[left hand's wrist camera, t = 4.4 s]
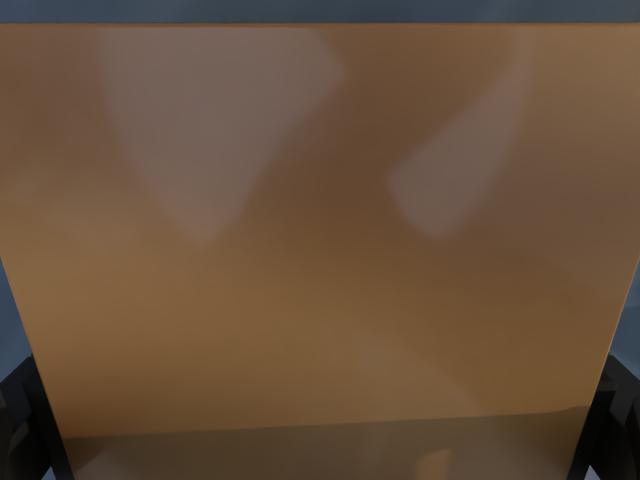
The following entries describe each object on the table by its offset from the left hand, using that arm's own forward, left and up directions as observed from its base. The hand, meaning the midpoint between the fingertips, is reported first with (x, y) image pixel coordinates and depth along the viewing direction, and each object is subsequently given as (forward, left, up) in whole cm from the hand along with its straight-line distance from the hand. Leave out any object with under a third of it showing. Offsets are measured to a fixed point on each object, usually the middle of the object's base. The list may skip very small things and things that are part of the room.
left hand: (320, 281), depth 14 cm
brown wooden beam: (+19, +14, 0) cm, 23 cm away
